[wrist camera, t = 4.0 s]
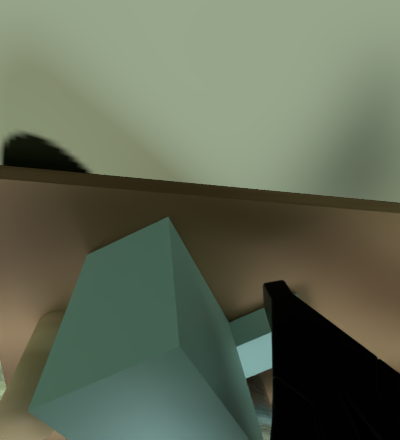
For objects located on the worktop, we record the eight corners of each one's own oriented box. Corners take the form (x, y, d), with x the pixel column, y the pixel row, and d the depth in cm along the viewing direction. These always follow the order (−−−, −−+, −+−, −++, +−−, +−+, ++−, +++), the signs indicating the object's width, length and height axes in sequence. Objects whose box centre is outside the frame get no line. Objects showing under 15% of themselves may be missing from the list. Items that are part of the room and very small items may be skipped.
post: (255, 407, 15) (289, 519, 11) (199, 409, 14) (214, 529, 11) (269, 368, 14) (313, 481, 10) (208, 370, 13) (230, 490, 9)
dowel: (83, 341, 11) (56, 441, 8) (39, 341, 11) (-6, 445, 8) (82, 311, 11) (51, 407, 8) (35, 310, 10) (-16, 411, 7)
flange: (337, 403, 16) (408, 531, 11) (189, 461, 16) (202, 603, 12) (253, 176, 9) (345, 273, 5) (9, 291, 10) (-112, 471, 5)
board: (342, 439, 20) (352, 459, 19) (37, 463, 17) (30, 490, 16) (487, 210, 13) (517, 223, 12) (-19, 163, 9) (-42, 175, 8)
